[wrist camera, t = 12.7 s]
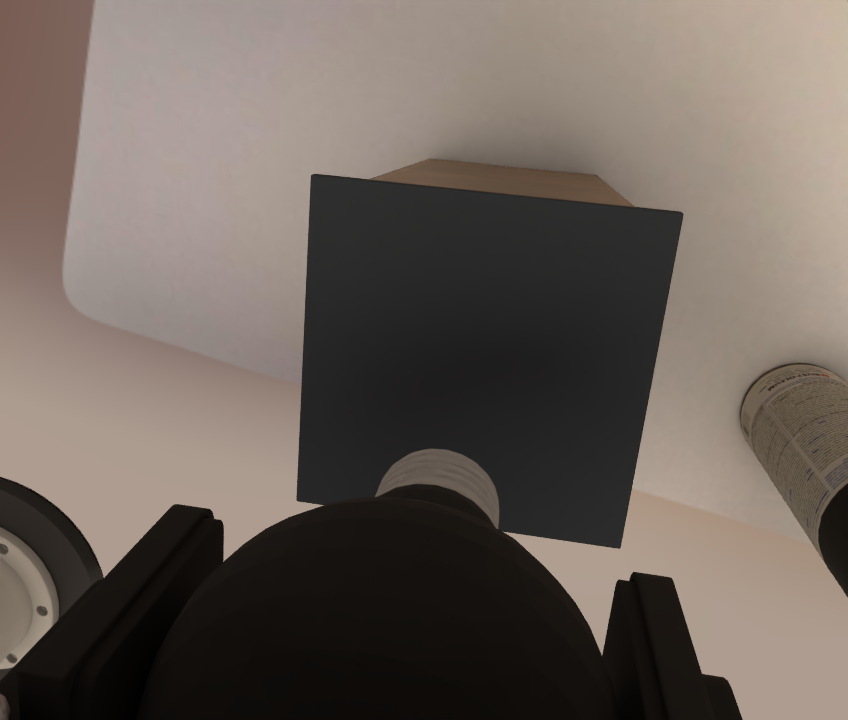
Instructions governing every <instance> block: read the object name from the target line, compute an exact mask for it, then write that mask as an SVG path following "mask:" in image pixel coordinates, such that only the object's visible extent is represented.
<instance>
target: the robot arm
mask: <svg viewBox="0 0 848 720" xmlns="http://www.w3.org/2000/svg"><path fill="white" fill-rule="evenodd" d="M223 539H224V528H223V523H222V521H221V520H216V519H214V516H213V513H212V511H211V510H210V509H206V508H199V507H192V506H185V505H179V504H175V505H173V506H172V507H171V508H170V509H169V510H168V511H167V512H166V513H165V514H164V515H163V516H162V517H161V518H160V519H159V520H158V521H157V522H156V524H155V525H154V526H153V527H152V528H151V529H150V530H149V531H148V532H147V533H146V534H145V535H144V536H143V538H142V539H141V540H140V541H139V542H138V543H137V544H136V545H135V546H134V547H133V548H132V549H131V550H130V551H129V552H128V553H127V555H126V556H125V557H124V558H123V559H122V560H121V561H120V562H119V563H118V564H117V565H116V566H115V567H114V568H113V569H112V570H111V571H110V572H109V573H108V575H107V576H106V577H105V578H104V579H100V580H98V581H96V582H95V583H94V584H92V585H91V586H90V587H89V588H88V589H87V590H86V591H85V593H84V594H83V595H82V596H81V597H80V598H79V599H78V600H77V601H76V602H75V603H74V604H73V605H72V606H71V607H70V608H69V609H68V610H67V611H66V612H65V614H64V615H63V616H62V617H61V618H60V619H59V620H58V618H59V600H58V595H57V591H56V587H55V585H54V582H53V580H52V577H51V575H50V573H49V571H48V570H47V568H46V567H45V565H44V563H43V562H42V560H41V559H40V558H39V557H38V556H37V555H36V553H35V552H34V551H33V550H32V549H31V548H30V547H29V546H28V545H27V544H25V543H24V542H23V541H22V540H21V539H19V538H18V537H17V536H15V535H13V534H12V533H10V532H9V531H7V530H5V529H3V528H1V527H0V669H8V668H12V667H13V668H12V669H11V670H10V671H9V672H8V673H7V674H6V675H5V676H4V677H3V678H2V680H1V681H0V720H136V716H137V713H138V709H139V706H140V702H141V699H142V695H143V692H144V688H145V685H146V681H147V678H148V675H149V672H150V670H151V667H152V664H153V661H154V658H155V655H156V654H157V652H158V650H159V648H160V646H161V644H162V642H163V641H164V639H165V637H166V635H167V633H168V632H169V630H170V628H171V627H172V625H173V624H174V622H175V620H176V619H177V617H178V615H179V614H180V612H181V611H182V609H183V607H184V606H185V604H186V602H187V601H188V600H189V598H190V597H191V596H192V595H193V593H194V592H195V591H196V589H197V588H198V587H199V585H200V584H201V583H202V582H203V581H204V580H205V579H206V578H207V577H208V576H209V575H210V574H211V573H212V572H213V571H214V570H215V569H216V568H217V567H218V566H220V565H221V564H222V563H223V544H224V543H223V541H224V540H223ZM602 658H603V660H604V663H605V666H606V668H607V671H608V673H609V676H610V678H611V681H612V685H613V689H614V694H615V698H616V703H617V708H618V713H619V718H620V720H742V717H741V714H740V711H739V708H738V706H737V703H736V700H735V697H734V694H733V691H732V689H731V686H730V684H729V683H728V681H727V680H726V679H725V678H723V677H717V676H711V675H705V674H702V673H701V670H700V666H699V663H698V660H697V657H696V653H695V650H694V647H693V644H692V640H691V637H690V634H689V630H688V627H687V624H686V621H685V617H684V614H683V611H682V608H681V605H680V602H679V598H678V595H677V592H676V589H675V585H674V582H673V580H672V578H670V577H664V576H658V575H651V574H644V573H637V572H633V573H632V575H631V577H630V580H629V581H625V580H618V581H617V583H616V587H615V591H614V597H613V602H612V608H611V613H610V618H609V623H608V629H607V635H606V639H605V645H604V650H603V655H602Z"/></svg>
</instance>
